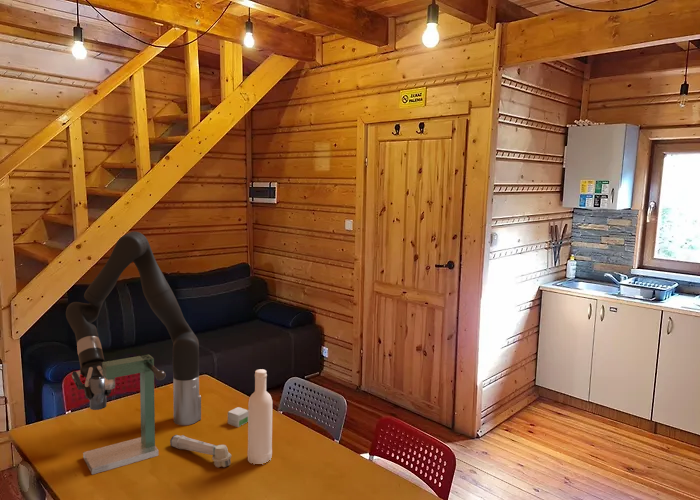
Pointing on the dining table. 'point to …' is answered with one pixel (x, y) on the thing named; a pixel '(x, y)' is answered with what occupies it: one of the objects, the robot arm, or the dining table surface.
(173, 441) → the white handheld tool
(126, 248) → the robot arm
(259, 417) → the bottle
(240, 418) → the small box
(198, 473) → the dining table surface
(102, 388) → the cylinder
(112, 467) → the press
